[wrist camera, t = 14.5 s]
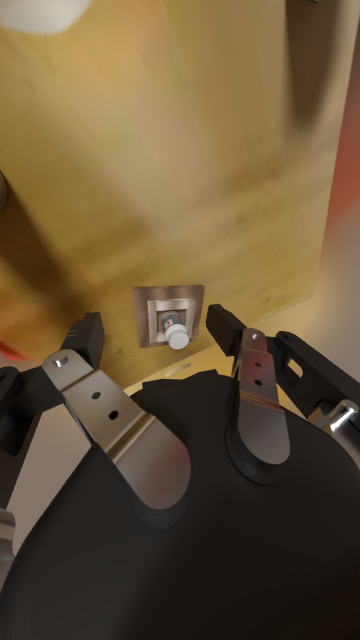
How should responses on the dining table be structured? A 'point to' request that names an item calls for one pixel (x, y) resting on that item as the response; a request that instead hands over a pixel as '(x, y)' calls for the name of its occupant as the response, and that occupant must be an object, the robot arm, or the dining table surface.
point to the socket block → (161, 300)
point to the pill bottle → (174, 330)
